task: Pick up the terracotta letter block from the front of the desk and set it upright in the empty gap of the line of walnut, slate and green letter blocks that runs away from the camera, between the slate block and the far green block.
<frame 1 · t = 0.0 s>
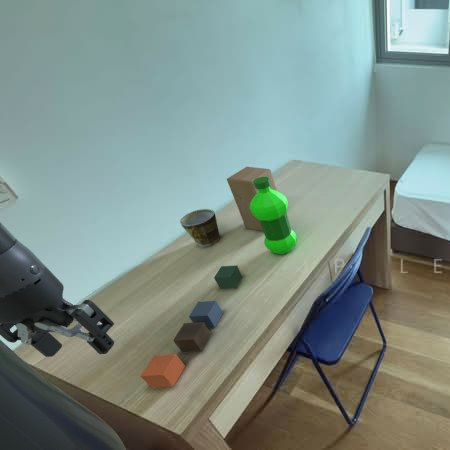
hand: (82, 350, 50), 19 cm above the table, tool pointing down, fingers open, 8 cm apart
plastic bottle: (283, 249, 101), on the table
block A: (197, 343, 73), on the table
block B: (210, 320, 78), on the table
block D: (231, 283, 88), on the table
ceramic cup: (208, 244, 104), on the table
wooden block: (266, 223, 114), on the table
block C: (168, 376, 66), on the table
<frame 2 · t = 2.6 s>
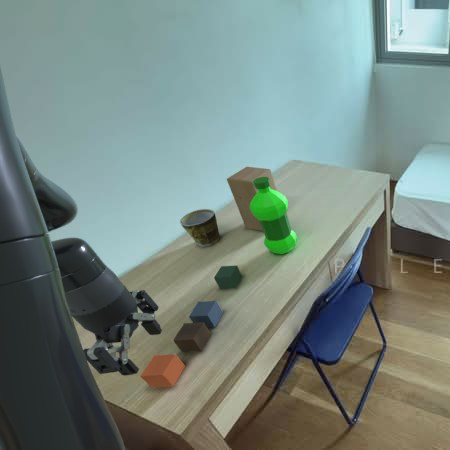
hand: (145, 351, 61), 9 cm above the table, tool pointing down, fingers open, 8 cm apart
nothing on the table moved.
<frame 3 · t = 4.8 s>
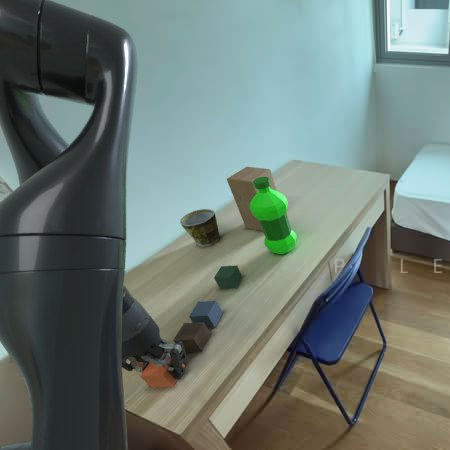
hand: (168, 375, 66), 0 cm above the table, tool pointing down, fingers closed on block C, 4 cm apart
block C: (168, 376, 66), on the table, touching gripper
everything else where it was.
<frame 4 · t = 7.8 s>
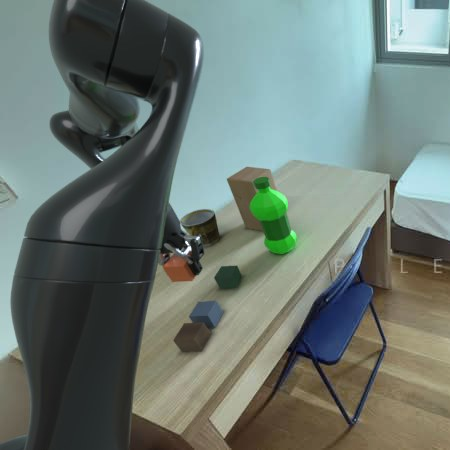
hand: (187, 273, 71), 15 cm above the table, tool pointing down, fingers closed on block C, 4 cm apart
block C: (187, 274, 71), point 14 cm above the table, touching gripper
everything else where it was.
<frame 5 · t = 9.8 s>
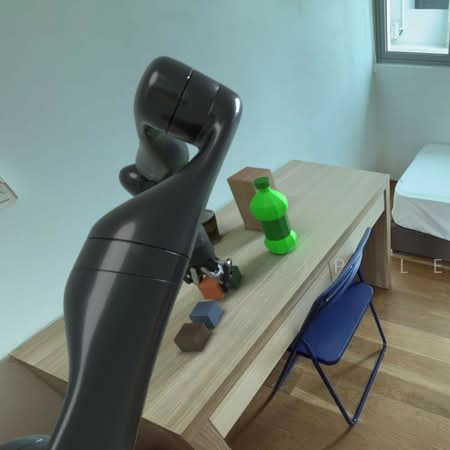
hand: (217, 291, 81), 3 cm above the table, tool pointing down, fingers closed on block C, 4 cm apart
block C: (217, 292, 81), point 3 cm above the table, touching gripper
everything else where it was.
when the fingers open (0 cm above the table, at t = 11.1 s): block C stays where it is, on the table.
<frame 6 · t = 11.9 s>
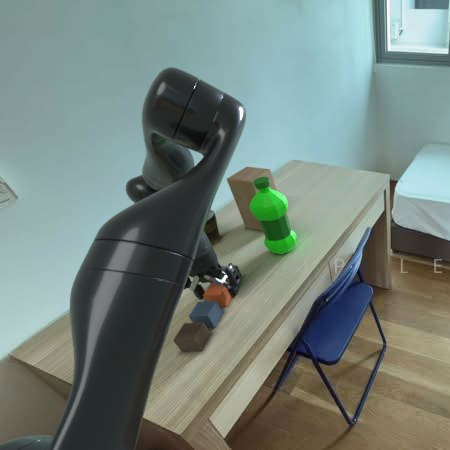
hand: (218, 296, 82), 2 cm above the table, tool pointing down, fingers open, 8 cm apart
block C: (222, 300, 83), on the table
everything else where it was.
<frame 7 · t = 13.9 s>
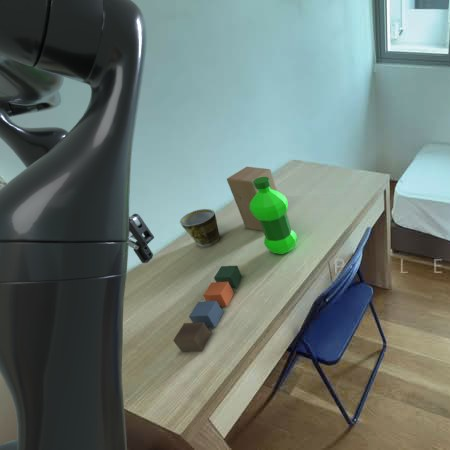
hand: (127, 261, 63), 23 cm above the table, tool pointing down, fingers open, 8 cm apart
nothing on the table moved.
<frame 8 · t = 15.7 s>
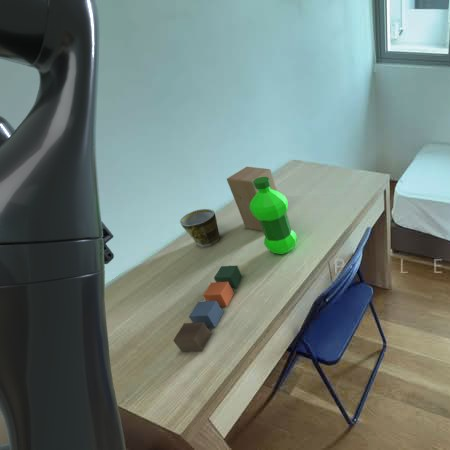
hand: (85, 262, 57), 26 cm above the table, tool pointing down, fingers open, 8 cm apart
nothing on the table moved.
at the end: block C 0.1 cm from the target spot on the table beside the block D, on the table; block C tilted 0°; block B moved 0.0 cm from its start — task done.
